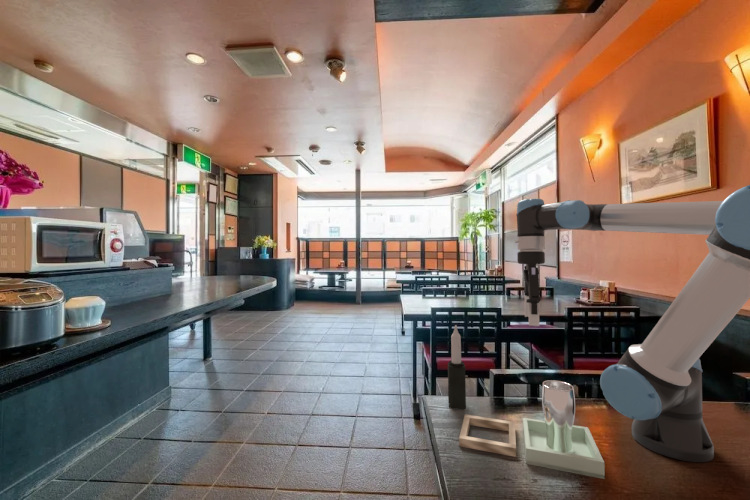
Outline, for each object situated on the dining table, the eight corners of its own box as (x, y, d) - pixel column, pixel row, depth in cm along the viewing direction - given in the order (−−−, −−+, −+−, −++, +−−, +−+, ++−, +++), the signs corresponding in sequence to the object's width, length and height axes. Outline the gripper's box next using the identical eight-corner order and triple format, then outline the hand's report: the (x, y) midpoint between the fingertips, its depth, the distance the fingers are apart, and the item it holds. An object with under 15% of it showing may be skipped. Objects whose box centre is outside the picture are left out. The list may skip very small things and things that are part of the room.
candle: (466, 409, 102) (464, 327, 103) (449, 408, 103) (447, 326, 103) (464, 402, 107) (463, 323, 108) (448, 401, 108) (447, 323, 108)
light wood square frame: (514, 429, 90) (514, 422, 90) (516, 456, 78) (516, 448, 78) (465, 421, 95) (465, 414, 95) (459, 446, 83) (459, 438, 83)
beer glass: (581, 458, 76) (579, 392, 76) (547, 455, 77) (546, 389, 77) (569, 441, 83) (568, 380, 83) (539, 439, 84) (538, 378, 84)
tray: (588, 441, 84) (587, 427, 84) (604, 479, 70) (604, 462, 70) (523, 430, 90) (522, 417, 90) (526, 463, 76) (525, 448, 76)
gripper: (515, 250, 115) (515, 312, 115) (520, 250, 91) (521, 328, 91) (539, 250, 112) (540, 314, 112) (551, 250, 89) (552, 330, 89)
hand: (531, 320), depth 102 cm, fingers open, 13 cm apart
